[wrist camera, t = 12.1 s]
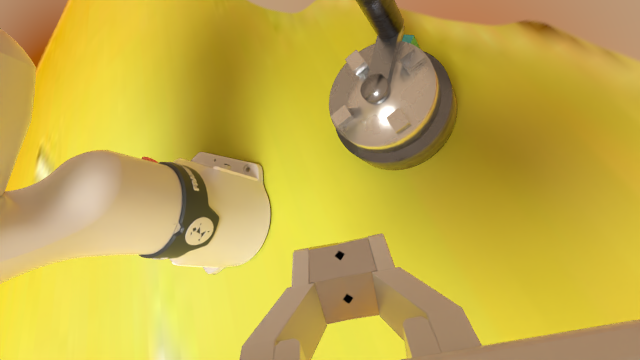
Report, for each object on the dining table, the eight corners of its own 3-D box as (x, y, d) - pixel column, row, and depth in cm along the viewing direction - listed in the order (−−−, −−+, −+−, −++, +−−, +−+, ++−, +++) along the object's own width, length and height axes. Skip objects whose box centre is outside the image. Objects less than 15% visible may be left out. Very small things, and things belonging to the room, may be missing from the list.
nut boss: (331, 149, 46) (313, 138, 41) (377, 49, 45) (363, 27, 41) (425, 187, 38) (414, 178, 34) (481, 68, 37) (477, 44, 33)
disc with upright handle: (427, 160, 34) (371, 98, 21) (330, 146, 41) (239, 92, 27) (457, 31, 35) (422, -107, 22) (358, 37, 42) (283, -66, 28)
